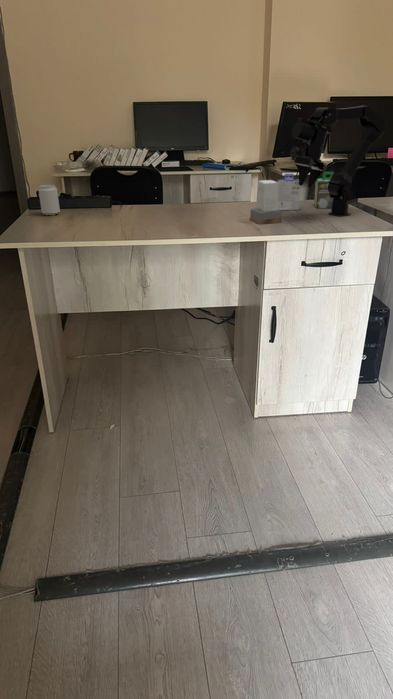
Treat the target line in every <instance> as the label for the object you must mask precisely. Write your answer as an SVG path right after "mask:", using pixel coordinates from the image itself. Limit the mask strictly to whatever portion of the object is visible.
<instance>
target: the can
mask: <svg viewBox="0 0 393 699" xmlns="http://www.w3.org/2000/svg"><path fill="white" fill-rule="evenodd" d="M38 195H39V203H40V209H41V214H42V213H57V212H61V211H60V210H61V209H60V201H59V194H58V188H57V187H56V185H55V184H42V185H39V189H38Z"/></svg>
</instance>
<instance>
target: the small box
mask: <svg viewBox="0 0 393 699" xmlns="http://www.w3.org/2000/svg"><path fill="white" fill-rule="evenodd" d="M277 203H278V182H277V181H275V180H273V179H264V180H258V181H257V207H256V208H258V209H260V210H261V211H263V212H268V211H277Z"/></svg>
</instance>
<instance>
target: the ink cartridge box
mask: <svg viewBox="0 0 393 699" xmlns="http://www.w3.org/2000/svg"><path fill="white" fill-rule="evenodd" d="M288 176H289V177H288ZM276 182H278V203H277V210H279V211H299V210H300V201H301V188H302V187H301V186H300V185H299V178H297V179H295V177H294V173H284V179H277V180H276Z"/></svg>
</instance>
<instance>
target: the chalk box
mask: <svg viewBox="0 0 393 699" xmlns="http://www.w3.org/2000/svg"><path fill="white" fill-rule="evenodd" d="M334 173H335V172H334V171H324V173H322V177H321V178H318V179H317V180H316V182H315V183H314V185H315V188H314V204H313V205H314V207H315V208H316V209H332V203H333V199H334V198H330V195H329V192H328V188H327V187H328V184H329V181H330V179H331V178H332V175H333V174H334ZM327 175H330V176H329V177H326V176H327Z"/></svg>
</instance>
